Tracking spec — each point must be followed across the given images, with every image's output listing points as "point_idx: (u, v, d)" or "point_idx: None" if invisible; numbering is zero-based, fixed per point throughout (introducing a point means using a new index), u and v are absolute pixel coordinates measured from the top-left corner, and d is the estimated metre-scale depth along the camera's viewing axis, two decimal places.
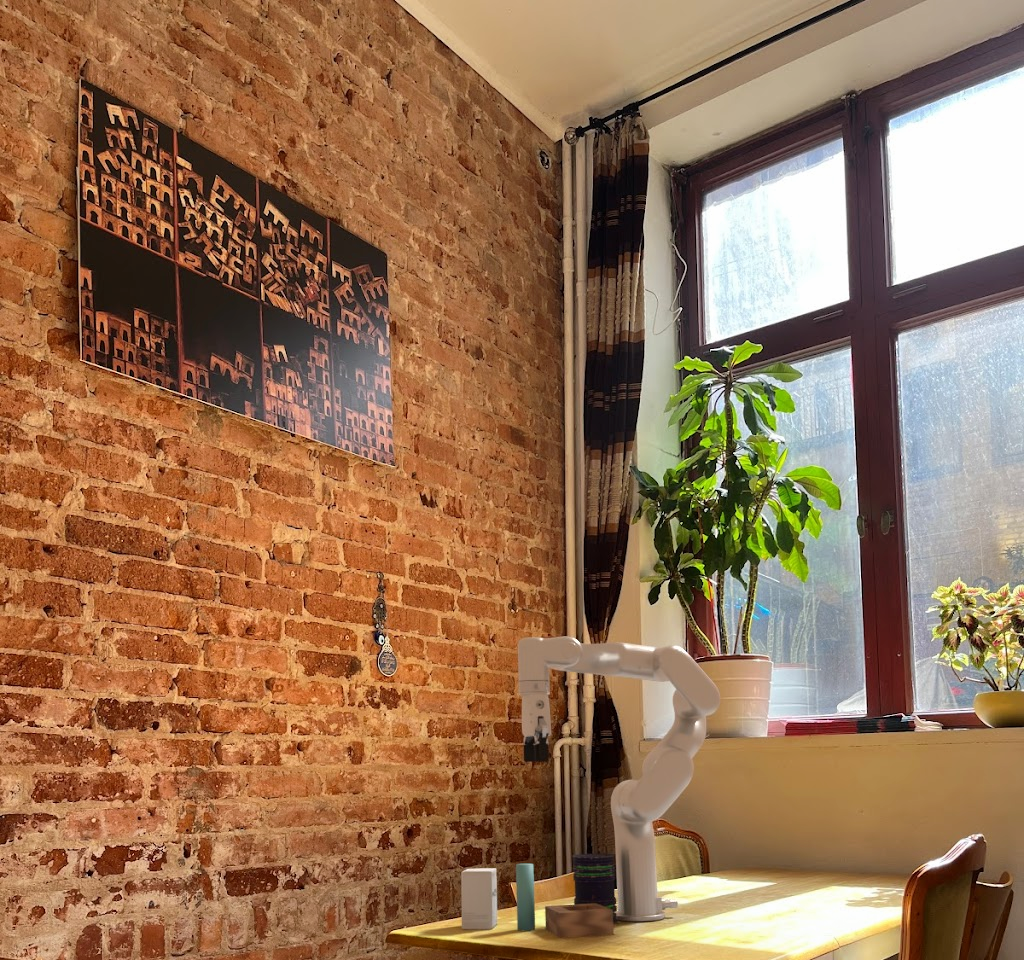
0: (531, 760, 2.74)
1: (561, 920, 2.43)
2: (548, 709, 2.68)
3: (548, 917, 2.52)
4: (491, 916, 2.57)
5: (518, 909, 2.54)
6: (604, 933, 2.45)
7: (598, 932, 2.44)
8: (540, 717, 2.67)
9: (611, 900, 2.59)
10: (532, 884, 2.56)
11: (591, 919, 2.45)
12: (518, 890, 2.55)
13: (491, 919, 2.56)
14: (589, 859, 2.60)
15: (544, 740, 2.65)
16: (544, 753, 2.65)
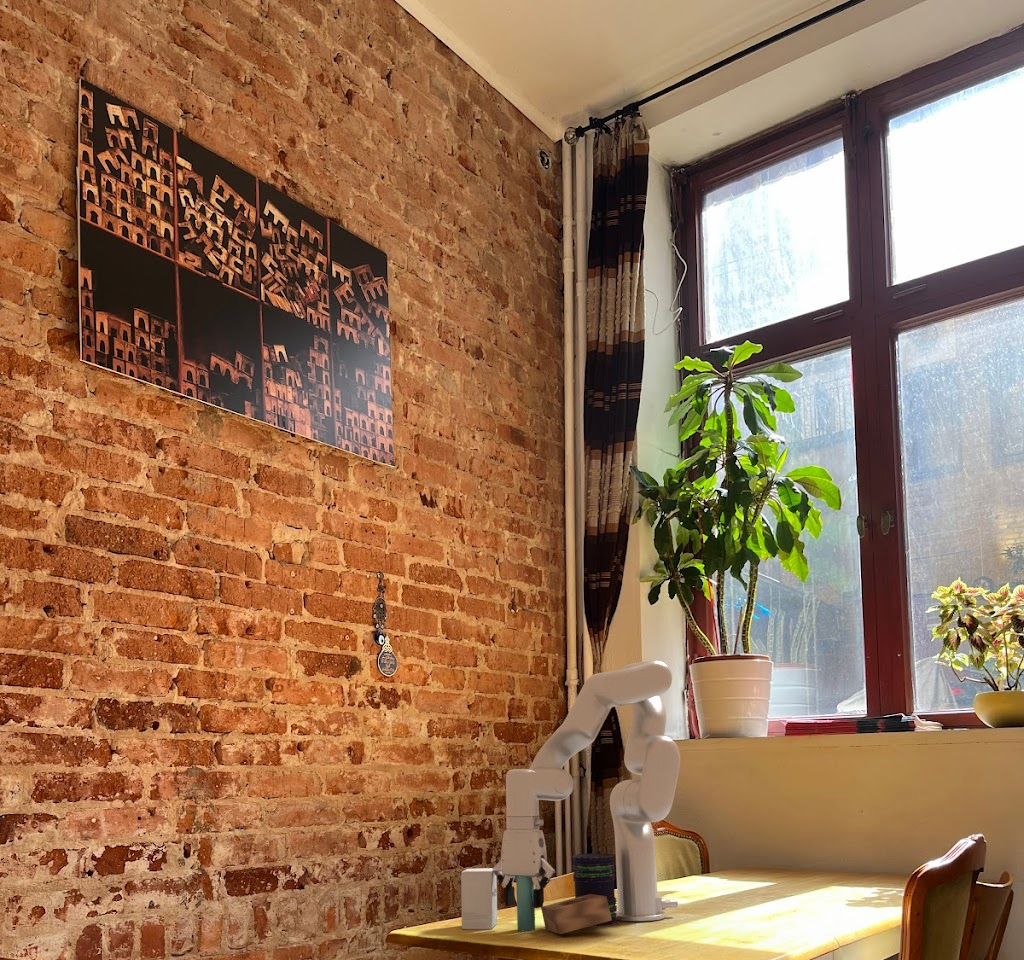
0: (511, 904, 2.57)
1: (558, 916, 2.43)
2: (545, 847, 2.58)
3: (545, 917, 2.52)
4: (491, 916, 2.57)
5: (518, 909, 2.54)
6: (602, 921, 2.45)
7: (596, 921, 2.45)
8: (541, 858, 2.55)
9: (611, 900, 2.59)
10: (532, 884, 2.56)
11: (587, 910, 2.45)
12: (518, 890, 2.55)
13: (491, 919, 2.56)
14: (588, 859, 2.60)
15: (545, 884, 2.54)
16: (543, 898, 2.54)
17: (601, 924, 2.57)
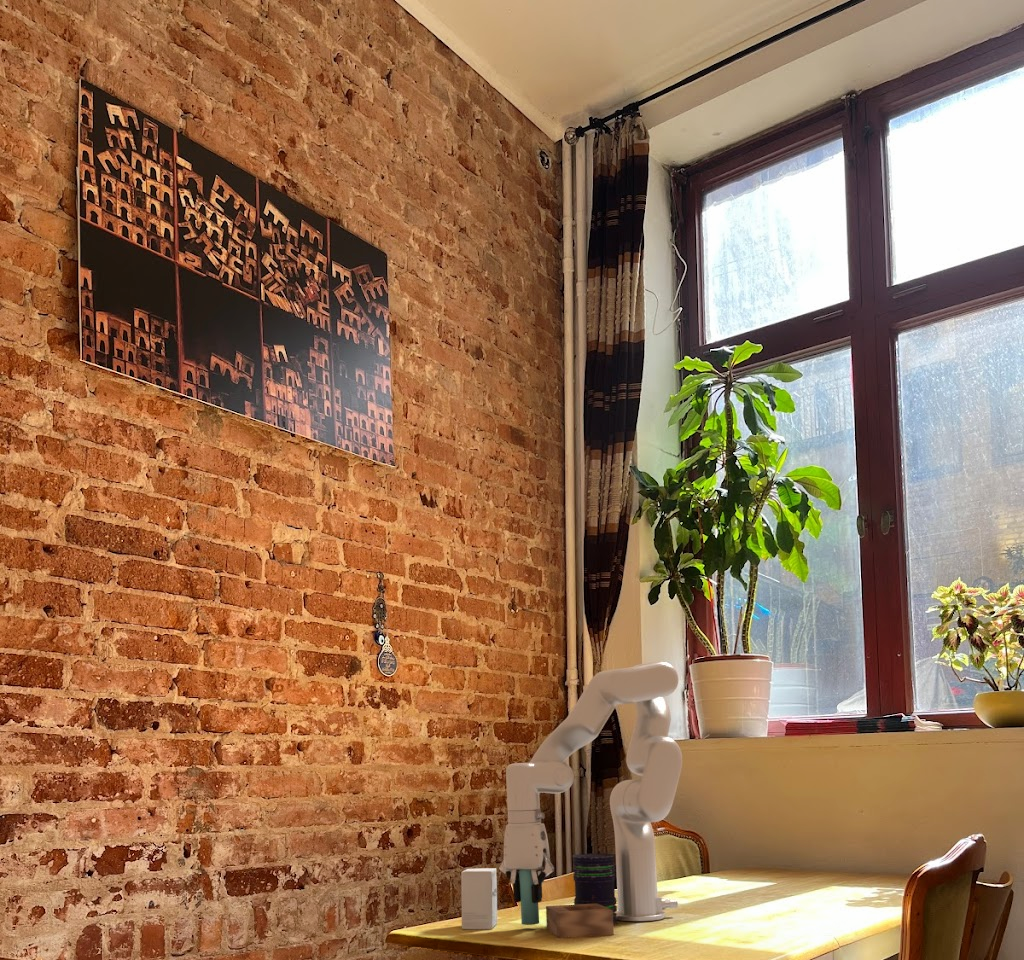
0: (520, 900, 2.57)
1: (561, 920, 2.43)
2: (547, 840, 2.58)
3: (549, 917, 2.52)
4: (491, 916, 2.57)
5: (522, 903, 2.55)
6: (604, 933, 2.44)
7: (597, 932, 2.44)
8: (543, 852, 2.56)
9: (611, 900, 2.59)
10: None
11: (591, 919, 2.44)
12: (521, 884, 2.56)
13: (491, 919, 2.56)
14: (589, 859, 2.60)
15: (543, 879, 2.55)
16: (541, 893, 2.55)
17: None
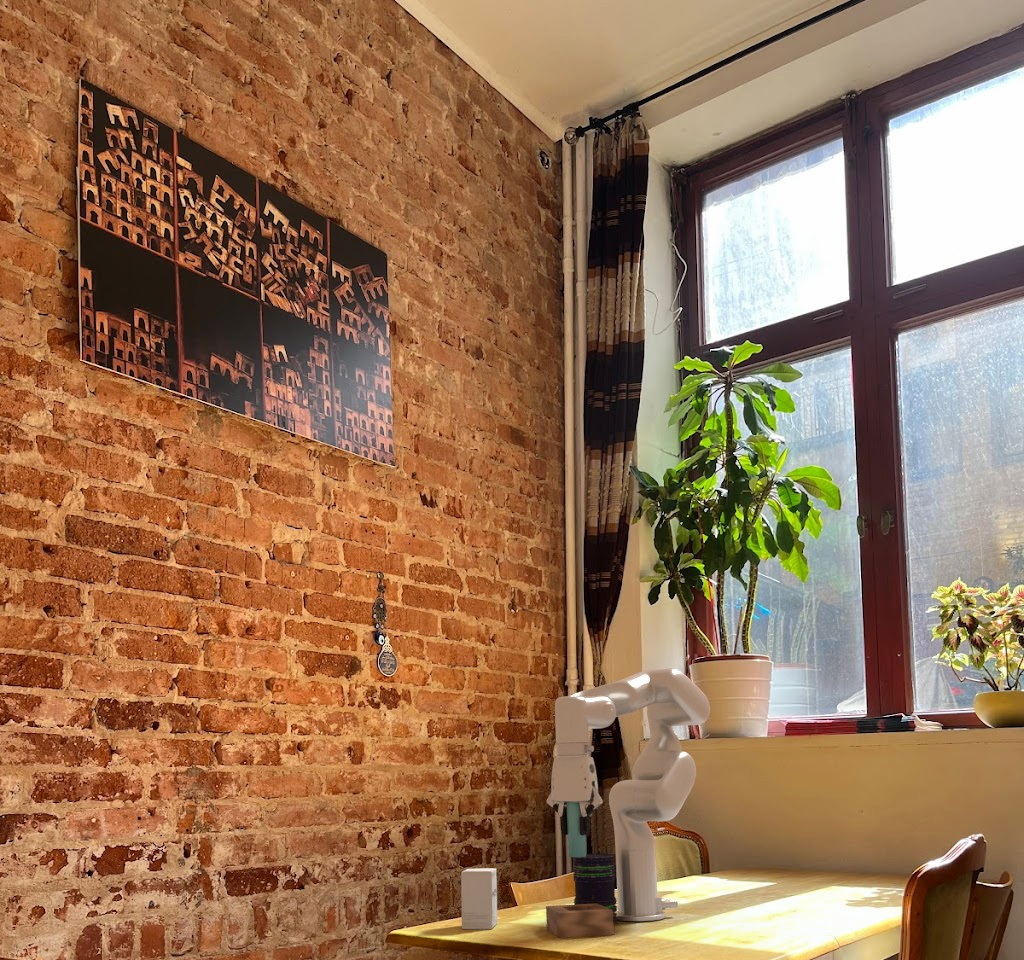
0: (567, 833, 2.55)
1: (561, 920, 2.43)
2: None
3: (549, 917, 2.52)
4: (491, 916, 2.57)
5: (569, 836, 2.53)
6: (604, 933, 2.44)
7: (597, 932, 2.44)
8: (592, 785, 2.54)
9: (611, 900, 2.59)
10: None
11: (591, 919, 2.44)
12: (569, 817, 2.54)
13: (491, 919, 2.56)
14: (589, 859, 2.60)
15: (591, 812, 2.53)
16: (589, 826, 2.53)
17: None
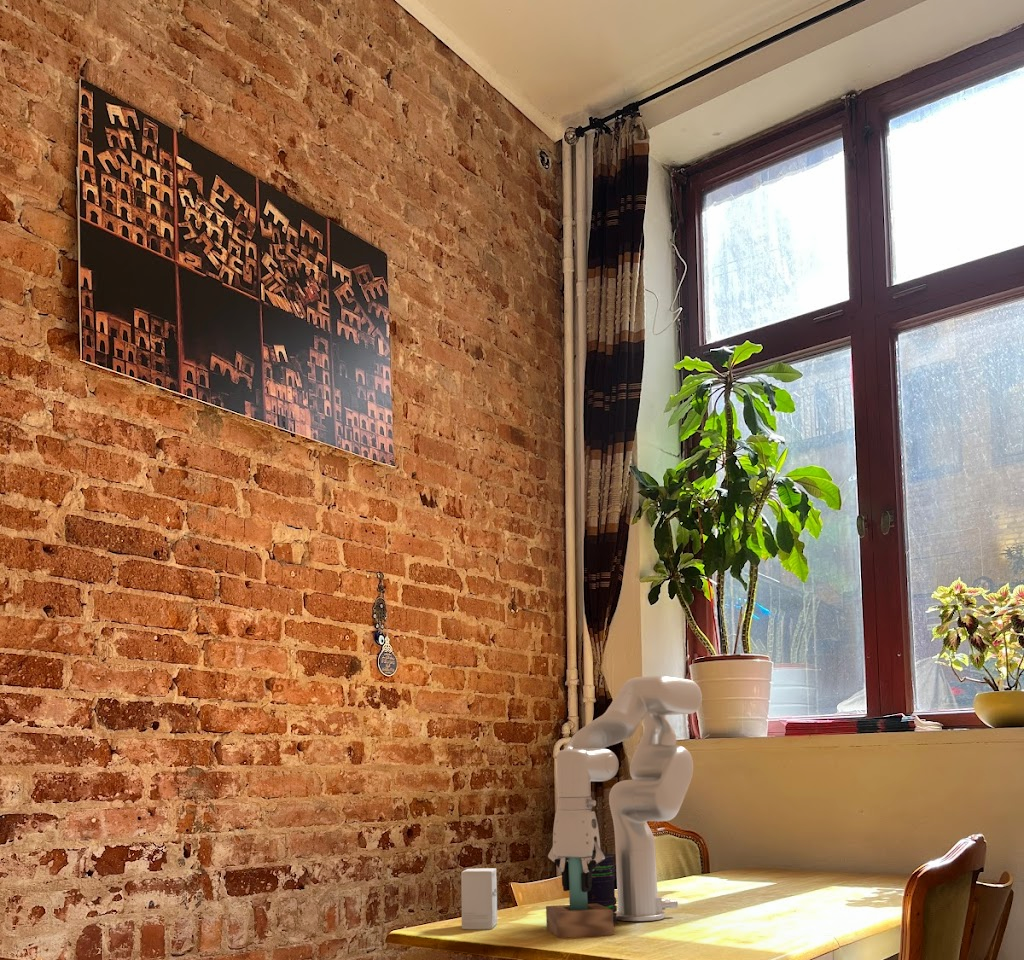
0: None
1: (561, 920, 2.43)
2: None
3: (549, 917, 2.52)
4: (491, 916, 2.57)
5: (570, 892, 2.50)
6: (604, 933, 2.44)
7: (597, 932, 2.44)
8: (594, 841, 2.51)
9: (611, 900, 2.59)
10: None
11: (591, 919, 2.44)
12: (570, 872, 2.51)
13: (491, 919, 2.56)
14: None
15: (593, 868, 2.50)
16: (591, 882, 2.50)
17: None
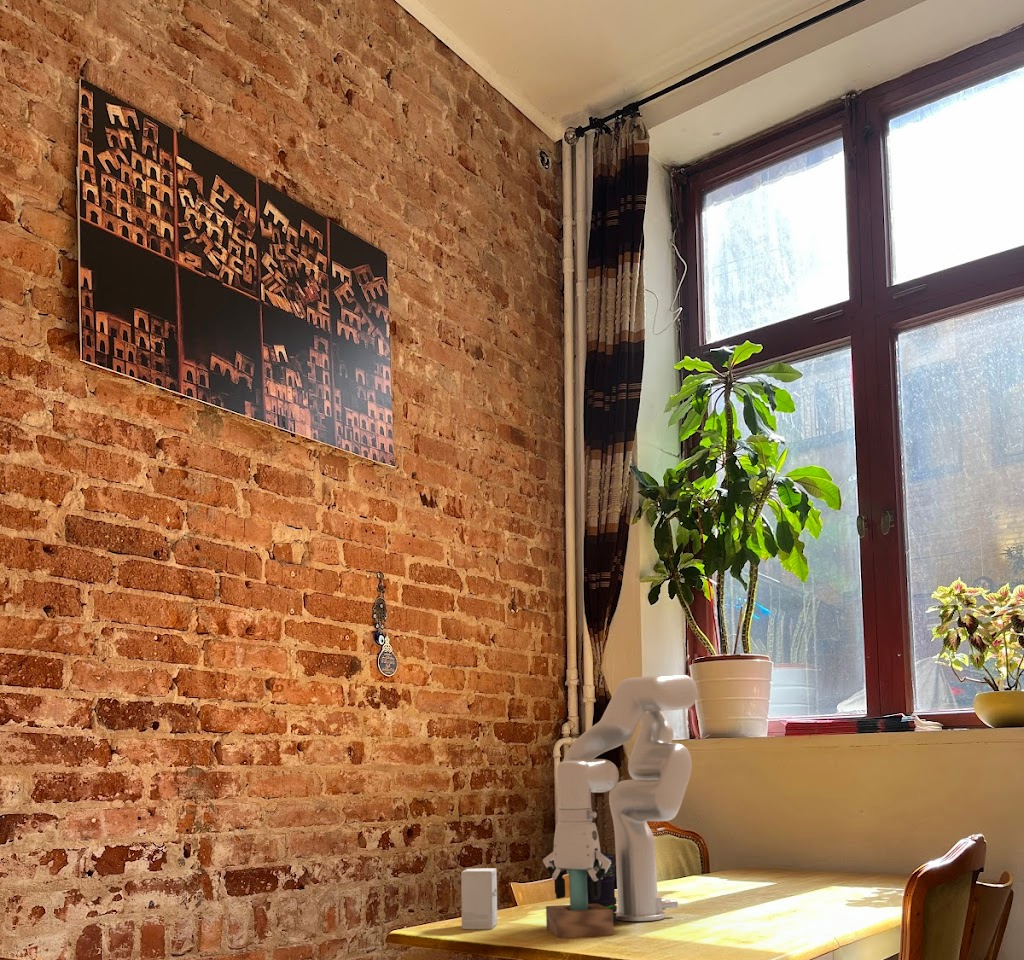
0: (562, 896, 2.53)
1: (561, 920, 2.43)
2: (598, 840, 2.53)
3: (549, 917, 2.52)
4: (491, 916, 2.57)
5: None
6: (604, 933, 2.44)
7: (597, 932, 2.44)
8: (595, 850, 2.51)
9: (611, 900, 2.59)
10: (585, 885, 2.51)
11: (591, 919, 2.44)
12: (571, 891, 2.50)
13: (491, 919, 2.56)
14: None
15: (602, 876, 2.49)
16: (600, 890, 2.49)
17: None
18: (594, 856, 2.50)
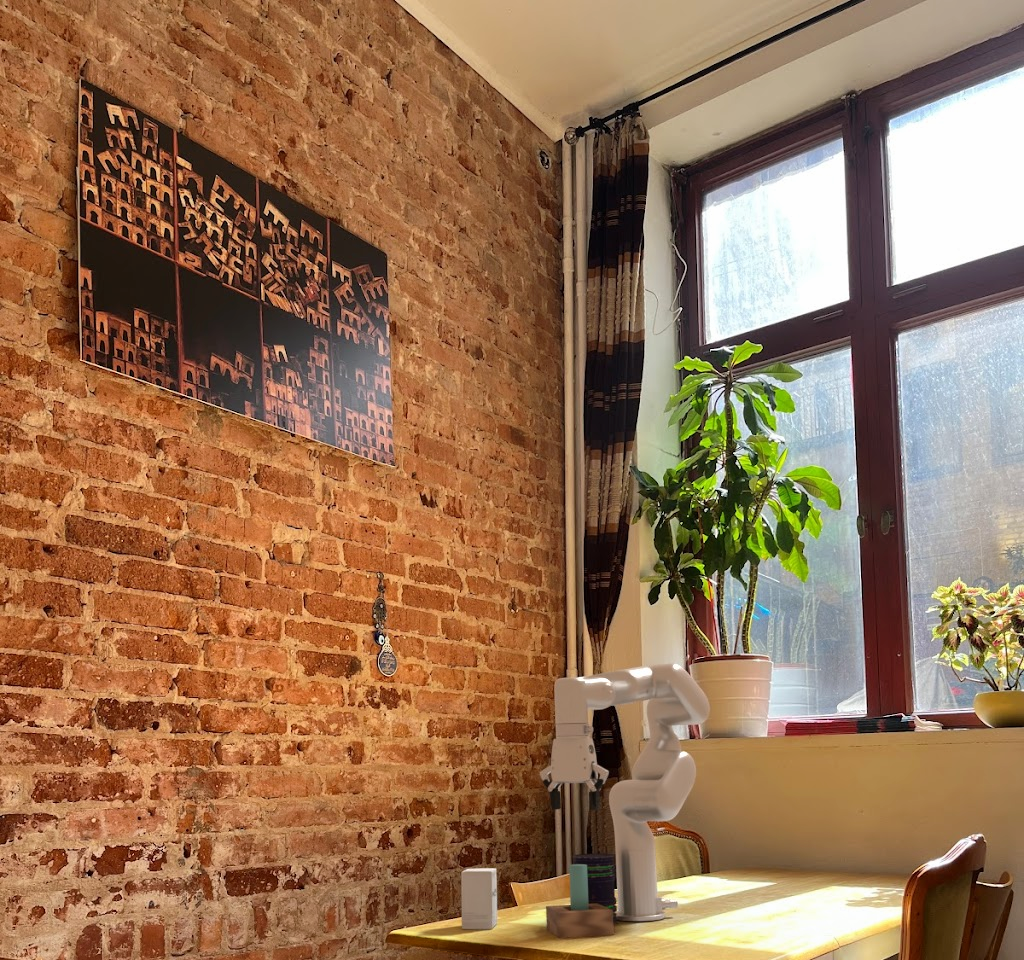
0: (557, 808, 2.58)
1: (561, 920, 2.43)
2: (595, 754, 2.57)
3: (549, 917, 2.52)
4: (491, 916, 2.57)
5: None
6: (604, 933, 2.44)
7: (597, 932, 2.44)
8: (592, 762, 2.55)
9: (611, 900, 2.59)
10: (586, 885, 2.51)
11: (591, 919, 2.44)
12: (572, 891, 2.50)
13: (491, 919, 2.56)
14: (589, 859, 2.60)
15: (601, 787, 2.53)
16: (598, 800, 2.53)
17: None
18: (591, 769, 2.54)
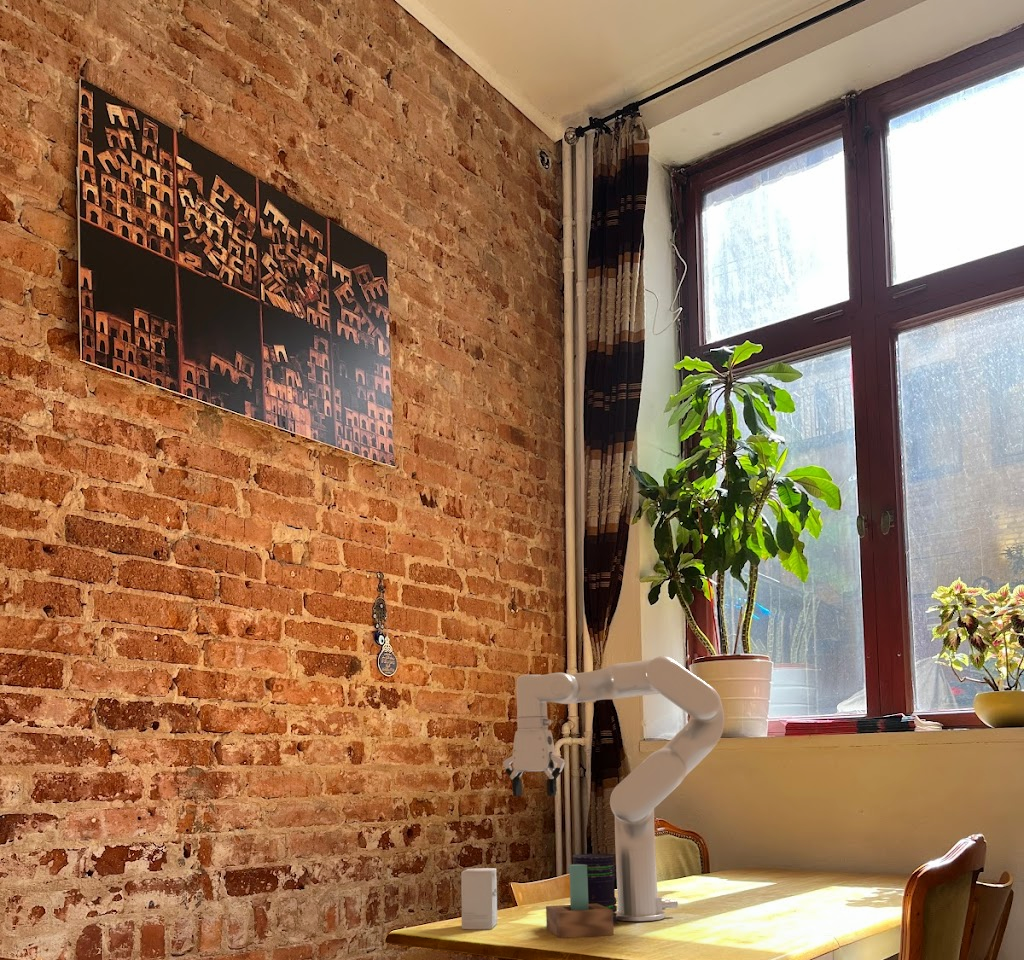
0: (519, 794, 2.80)
1: (561, 920, 2.43)
2: (553, 745, 2.80)
3: (549, 917, 2.52)
4: (491, 916, 2.57)
5: None
6: (604, 933, 2.44)
7: (597, 932, 2.44)
8: (550, 752, 2.78)
9: (611, 900, 2.59)
10: (586, 885, 2.51)
11: (591, 919, 2.44)
12: (572, 891, 2.51)
13: (491, 919, 2.56)
14: (589, 859, 2.60)
15: (558, 775, 2.76)
16: (555, 787, 2.76)
17: None
18: (549, 758, 2.76)
